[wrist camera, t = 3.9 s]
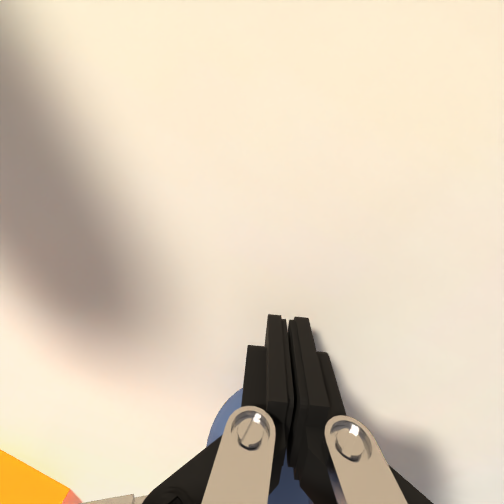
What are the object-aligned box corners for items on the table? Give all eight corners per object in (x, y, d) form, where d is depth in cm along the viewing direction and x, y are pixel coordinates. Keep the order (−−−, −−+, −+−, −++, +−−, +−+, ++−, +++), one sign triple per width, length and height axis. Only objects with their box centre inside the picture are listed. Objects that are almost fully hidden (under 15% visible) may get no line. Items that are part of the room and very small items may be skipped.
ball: (370, 623, 7) (315, 538, 12) (361, 390, 11) (321, 398, 16) (170, 566, 8) (196, 506, 13) (221, 358, 11) (226, 377, 16)
